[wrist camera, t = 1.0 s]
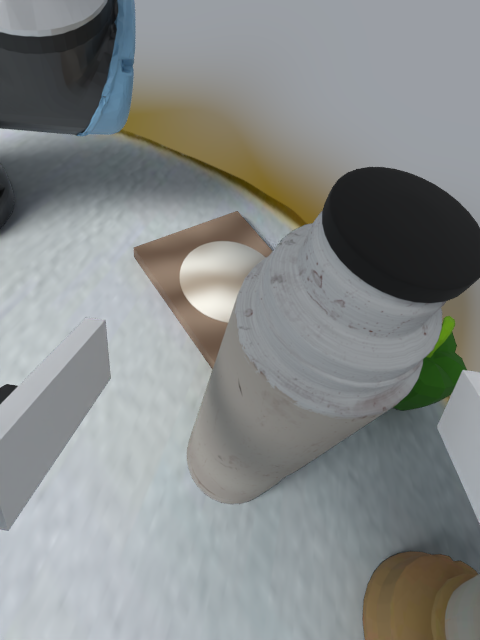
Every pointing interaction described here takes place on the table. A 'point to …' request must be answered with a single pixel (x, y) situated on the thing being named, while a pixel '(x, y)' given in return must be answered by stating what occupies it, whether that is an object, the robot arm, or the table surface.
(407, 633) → the lantern
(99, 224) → the table surface
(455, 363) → the bell pepper
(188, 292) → the docking mat
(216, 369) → the thermos bottle
